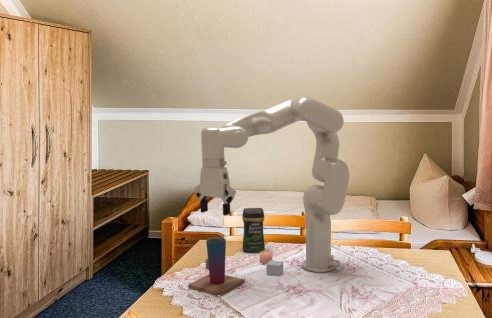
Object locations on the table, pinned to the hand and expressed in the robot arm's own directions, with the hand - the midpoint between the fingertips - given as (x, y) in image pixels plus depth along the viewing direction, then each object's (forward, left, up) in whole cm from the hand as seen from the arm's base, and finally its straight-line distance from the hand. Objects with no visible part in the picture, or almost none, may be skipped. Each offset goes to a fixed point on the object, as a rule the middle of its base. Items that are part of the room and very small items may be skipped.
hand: (215, 213), depth 161 cm
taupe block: (+11, -13, -26) cm, 31 cm away
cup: (0, 0, -25) cm, 25 cm away
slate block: (-11, -21, -26) cm, 35 cm away
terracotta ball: (-2, -29, -26) cm, 39 cm away
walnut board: (0, 0, -26) cm, 26 cm away
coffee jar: (+11, -40, -26) cm, 49 cm away
